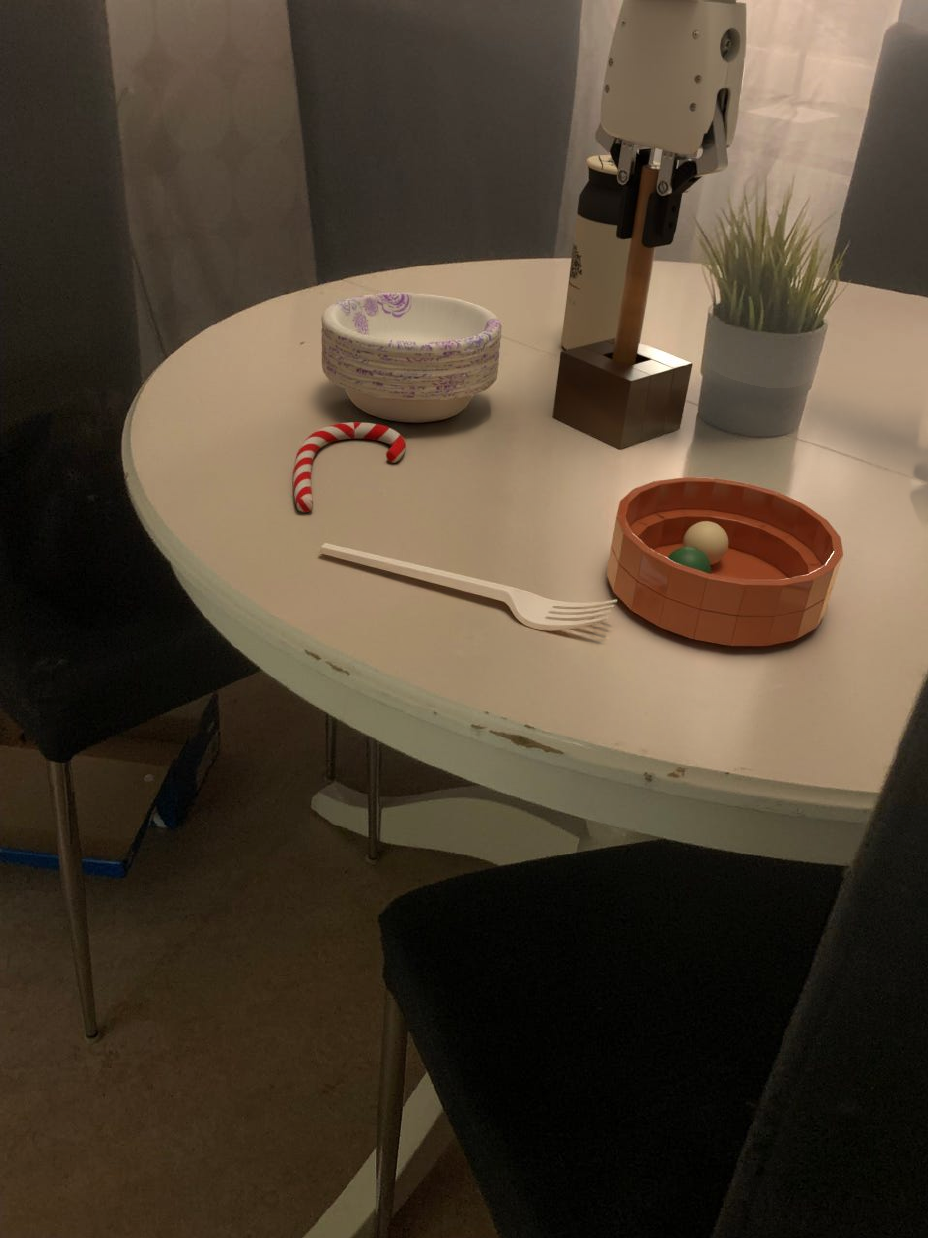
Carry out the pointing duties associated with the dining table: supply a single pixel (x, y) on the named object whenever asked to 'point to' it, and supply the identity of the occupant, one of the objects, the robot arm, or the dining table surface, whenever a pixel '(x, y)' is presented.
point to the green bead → (691, 558)
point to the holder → (621, 393)
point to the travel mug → (596, 260)
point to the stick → (636, 276)
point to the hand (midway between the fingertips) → (644, 239)
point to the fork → (488, 592)
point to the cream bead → (707, 540)
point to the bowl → (724, 562)
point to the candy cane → (333, 434)
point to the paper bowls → (410, 353)
